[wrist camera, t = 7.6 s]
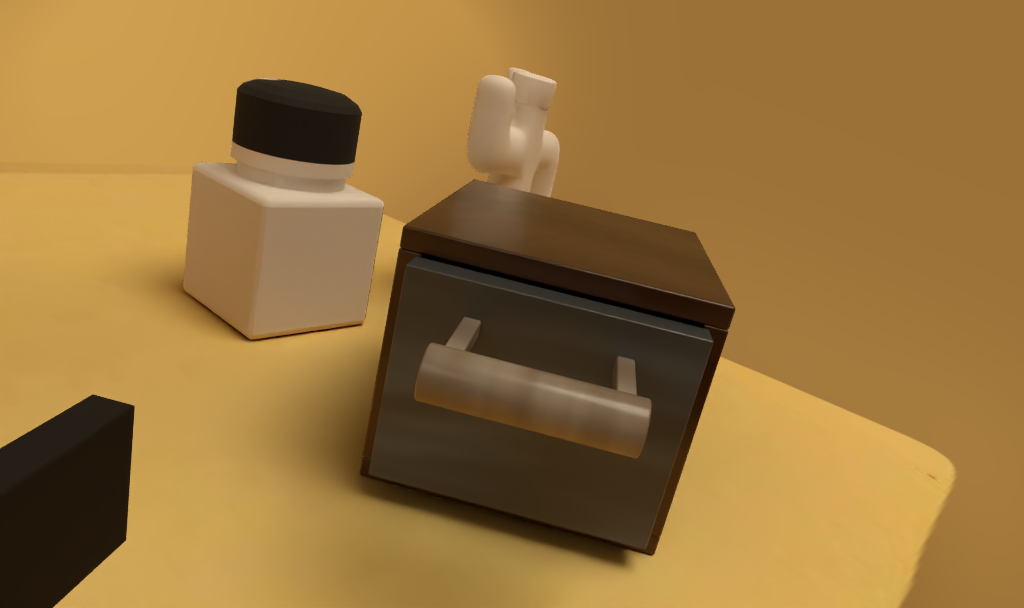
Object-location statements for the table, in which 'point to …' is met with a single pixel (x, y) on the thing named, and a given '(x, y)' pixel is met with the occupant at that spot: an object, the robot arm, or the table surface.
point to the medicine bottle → (284, 216)
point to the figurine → (514, 132)
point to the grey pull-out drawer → (536, 399)
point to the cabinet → (568, 279)
